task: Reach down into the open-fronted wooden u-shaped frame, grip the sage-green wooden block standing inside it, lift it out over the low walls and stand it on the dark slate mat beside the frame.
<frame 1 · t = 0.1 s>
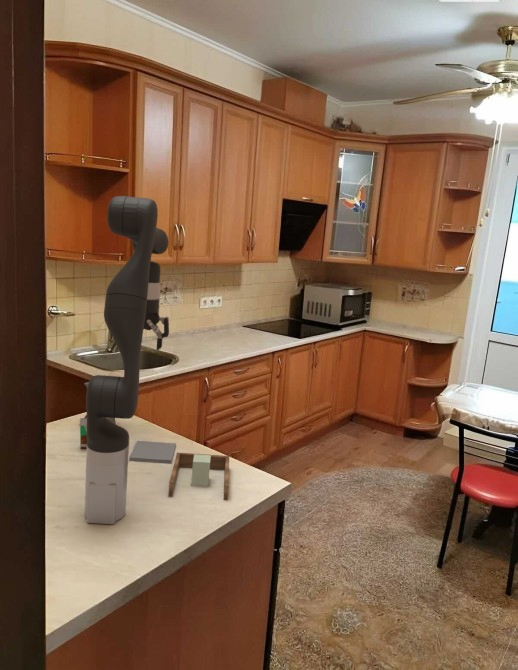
hand: (144, 348, 159), 29 cm above the counter, tool pointing down, fingers open, 8 cm apart
sage block: (201, 470, 139), in the wooden u-shaped frame
slate mat: (153, 453, 154), on the counter
food container: (96, 444, 157), on the counter
wooden u-shaped frame: (200, 482, 139), on the counter
coffeepot: (105, 429, 169), on the counter
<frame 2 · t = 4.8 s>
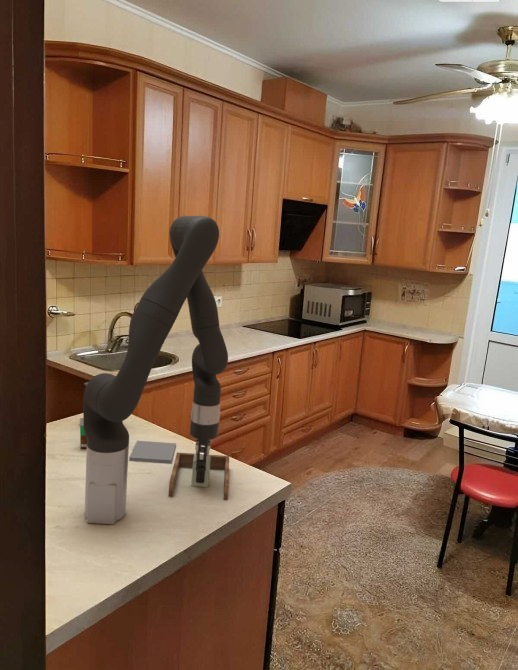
hand: (200, 477, 139), 1 cm above the counter, tool pointing down, fingers closed on sage block, 4 cm apart
sage block: (201, 470, 139), in the wooden u-shaped frame, touching gripper
everything else where it was.
when the fingers open (4 cm above the counter, at t = 11.5 s): sage block drops 1 cm, resting on slate mat.
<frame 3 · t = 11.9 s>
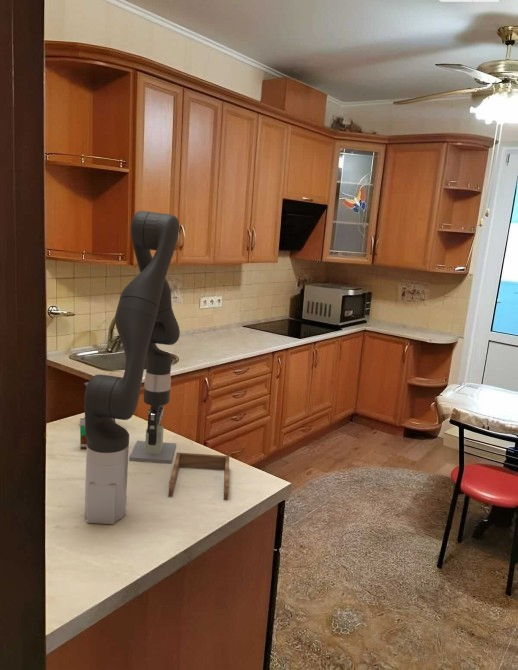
hand: (154, 439, 153), 5 cm above the counter, tool pointing down, fingers open, 8 cm apart
sage block: (154, 439, 153), on the slate mat, point 4 cm above the counter
everything else where it was.
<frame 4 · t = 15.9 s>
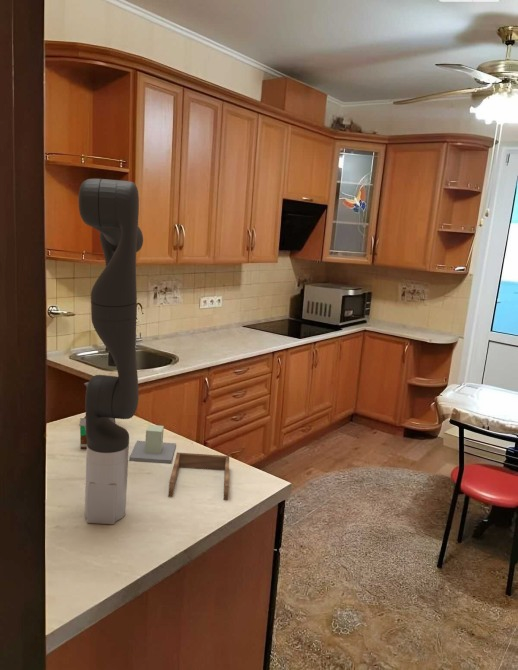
hand: (116, 361, 138), 30 cm above the counter, tool pointing down, fingers open, 8 cm apart
nothing on the counter moved.
at the end: sage block inside the target area on the slate mat (0.1 cm from its centre), point 4.5 cm above the slate mat's base; sage block tilted 0°; the gripper is holding nothing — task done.
